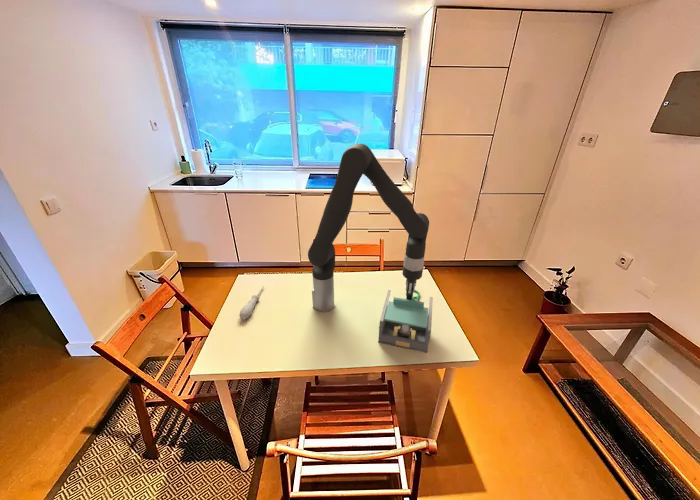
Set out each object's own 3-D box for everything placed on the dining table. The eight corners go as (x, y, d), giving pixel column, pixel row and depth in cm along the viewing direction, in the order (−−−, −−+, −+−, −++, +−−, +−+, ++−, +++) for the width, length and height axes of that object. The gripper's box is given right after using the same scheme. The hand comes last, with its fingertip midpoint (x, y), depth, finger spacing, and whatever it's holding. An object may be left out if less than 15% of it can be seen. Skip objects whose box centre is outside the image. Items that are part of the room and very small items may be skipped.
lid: (384, 320, 110) (384, 313, 109) (388, 302, 120) (389, 296, 118) (427, 328, 107) (428, 321, 105) (428, 309, 116) (429, 303, 114)
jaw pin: (400, 333, 118) (402, 316, 114) (409, 335, 117) (412, 319, 113) (398, 340, 115) (400, 323, 110) (408, 343, 114) (410, 326, 109)
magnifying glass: (405, 291, 146) (406, 288, 145) (417, 291, 146) (417, 288, 145) (413, 311, 132) (413, 308, 132) (426, 311, 133) (426, 308, 132)
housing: (378, 342, 115) (379, 320, 109) (386, 310, 132) (388, 289, 127) (427, 353, 111) (431, 330, 105) (429, 318, 128) (432, 297, 122)
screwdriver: (267, 290, 148) (268, 283, 146) (247, 322, 126) (247, 315, 124) (258, 288, 148) (259, 281, 146) (236, 319, 125) (237, 312, 124)
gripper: (405, 255, 117) (401, 290, 125) (401, 272, 106) (397, 309, 114) (424, 257, 115) (418, 292, 123) (422, 275, 104) (416, 312, 112)
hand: (408, 300), depth 119 cm, fingers closed
